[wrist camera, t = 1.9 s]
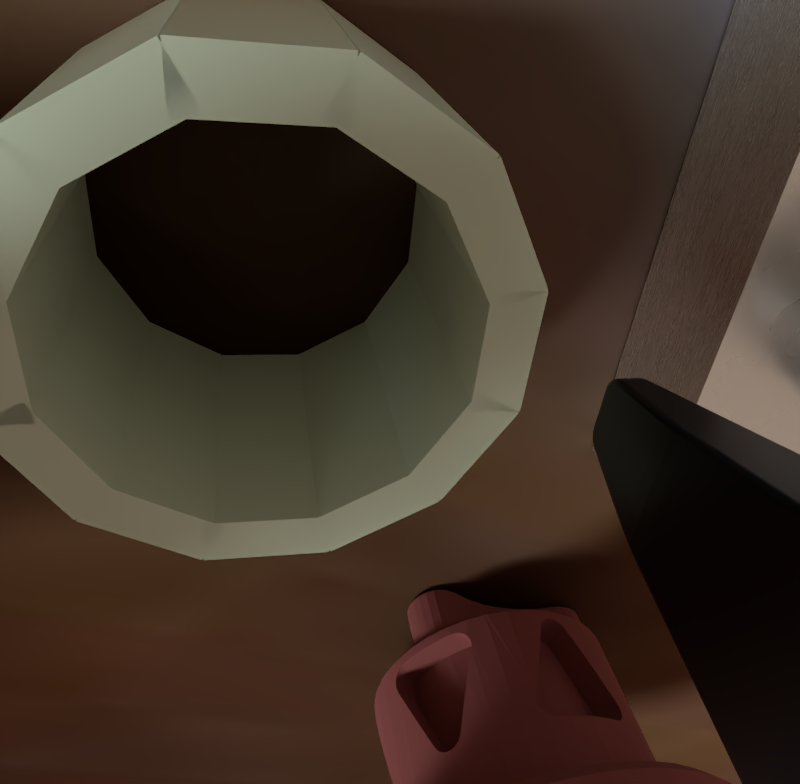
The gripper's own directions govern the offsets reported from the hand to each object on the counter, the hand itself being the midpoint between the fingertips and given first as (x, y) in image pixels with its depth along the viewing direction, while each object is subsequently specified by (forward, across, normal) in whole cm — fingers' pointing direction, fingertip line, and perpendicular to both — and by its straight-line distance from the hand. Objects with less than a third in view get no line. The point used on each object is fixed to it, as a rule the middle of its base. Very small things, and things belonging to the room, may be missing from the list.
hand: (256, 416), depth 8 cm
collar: (+6, 0, 0) cm, 6 cm away
